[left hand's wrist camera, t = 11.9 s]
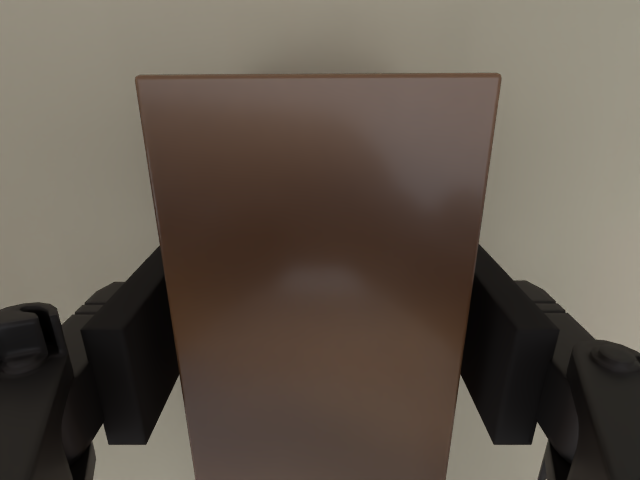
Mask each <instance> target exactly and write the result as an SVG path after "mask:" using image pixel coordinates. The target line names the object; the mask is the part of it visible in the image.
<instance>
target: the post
mask: <svg viewBox="0 0 640 480" xmlns="http://www.w3.org/2000/svg"><path fill="white" fill-rule="evenodd" d="M135 84H136V90H137V97H138V103H139V110H140V117H141V123H142V130H143V136H144V143H145V149H146V156H147V163H148V169H149V176H150V182H151V189H152V196H153V202H154V209H155V215H156V222H157V229H158V235H159V242H160V248H161V255H162V262H163V268H164V275H165V281H166V288H167V294H168V301H169V308H170V314H171V321H172V327H173V334H174V341H175V347H176V354H177V360H178V367H179V374H180V380H181V387H182V393H183V400H184V407H185V413H186V420H187V426H188V433H189V439H190V446H191V453H192V459H193V466H194V472H195V479H196V480H446V473H447V466H448V459H449V451H450V444H451V437H452V430H453V423H454V416H455V408H456V401H457V394H458V387H459V380H460V373H461V365H462V358H463V351H464V344H465V337H466V329H467V322H468V315H469V308H470V301H471V294H472V286H473V279H474V272H475V265H476V258H477V251H478V243H479V236H480V229H481V222H482V215H483V208H484V200H485V193H486V186H487V179H488V172H489V165H490V157H491V150H492V143H493V136H494V129H495V121H496V114H497V107H498V100H499V93H500V86H501V75H500V74H498V73H381V74H196V75H138V76H136V77H135Z"/></svg>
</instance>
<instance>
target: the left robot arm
mask: <svg viewBox="0 0 640 480" xmlns="http://www.w3.org/2000/svg"><path fill="white" fill-rule="evenodd" d="M460 374H461V376H462V378H463V380H464V382H465V384H466V387H467V389H468V391H469V393H470V395H471V397H472V399H473V401H474V404H475V406H476V408H477V410H478V412H479V414H480V416H481V418H482V421H483V423H484V425H485V427H486V429H487V431H488V433H489V435H490V438H491V440H492V442H493V444H494V445H531V444H532V440H533V436H534V432H535V428H536V424H537V422H538V423H539V425H540V427H541V428H542V430H543V431H544V433H545V435H546V436H547V438H548V442H547V446H546V450H545V454H544V457H543V461H542V465H541V469H540V472H539V476H538V480H546V479H547V480H640V353H639V352H637V351H635V350H632V349H630V348H628V347H625V346H623V345H620V344H617V343H613V342H609V341H605V340H595V339H594V338H593V337H592V336H591V335H590V334H589V333H588V332H587V331H586V330H585V329H584V328H583V327H582V326H581V325H580V324H579V323H578V322H577V321H576V320H575V319H574V318H573V317H571V316H570V315H569V314H568V313H565V310H564V309H563V308H562V307H561V306H560V305H559V304H556V301H555V300H554V299H553V298H552V297H551V296H550V295H549V294H547V293H546V292H545V291H544V290H543V289H541V288H539V287H537V286H535V285H533V284H531V283H530V282H528V281H513V280H512V279H511V278H510V276H509V275H508V274H507V273H506V272H505V271H504V270H503V269H502V268H501V267H500V266H499V265H498V264H497V263H496V262H495V261H494V259H493V258H492V257H491V256H490V255H489V254H488V253H487V252H486V251H485V250H484V249H483V248H482V247H481V246H480V245H479V244H478V251H477V258H476V265H475V272H474V279H473V286H472V294H471V301H470V308H469V315H468V322H467V329H466V337H465V344H464V351H463V358H462V365H461V373H460ZM178 376H179V367H178V360H177V354H176V347H175V341H174V334H173V327H172V321H171V314H170V308H169V301H168V294H167V288H166V281H165V275H164V268H163V262H162V255H161V248H160V246H159V247H158V248H157V249H156V250H155V251H154V252H153V253H152V254H151V255H150V256H149V257H148V258H147V259H146V261H145V262H144V263H143V264H142V265H141V266H140V267H139V268H138V269H137V270H136V271H135V272H134V273H133V274H132V275H131V276H130V277H129V279H128V280H127V281H126V282H113V283H111V284H110V285H108V286H106V287H104V288H102V289H100V290H98V291H97V292H95V293H94V294H93V295H92V296H91V297H90V298H89V299H88V300H87V301H86V302H85V305H82V306H81V307H80V308H79V309H78V310H77V311H76V312H75V315H72V316H71V317H70V318H69V319H67V320H66V321H65V322H64V323H63V324H62V325H61V322H60V319H59V315H58V311H57V308H56V307H54V306H52V305H51V304H46V303H39V302H38V303H25V304H20V305H15V306H11V307H6V308H4V309H1V310H0V480H93V475H94V469H95V462H96V456H95V450H94V446H93V442H92V440H93V439H94V437H95V435H96V434H97V432H98V431H99V429H100V427H101V426H102V424H104V428H105V432H106V436H107V440H108V444H109V445H146V444H147V442H148V440H149V438H150V435H151V433H152V431H153V429H154V427H155V425H156V423H157V421H158V418H159V416H160V414H161V412H162V410H163V408H164V406H165V404H166V401H167V399H168V397H169V395H170V393H171V391H172V389H173V387H174V384H175V382H176V380H177V378H178Z"/></svg>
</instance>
